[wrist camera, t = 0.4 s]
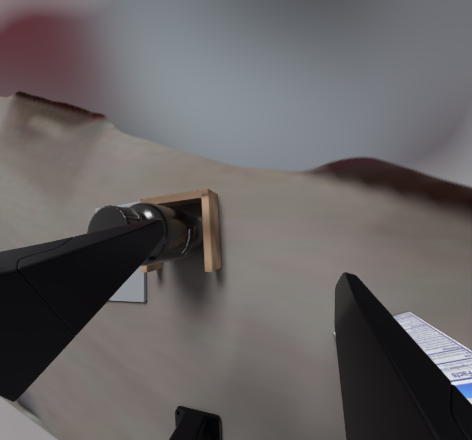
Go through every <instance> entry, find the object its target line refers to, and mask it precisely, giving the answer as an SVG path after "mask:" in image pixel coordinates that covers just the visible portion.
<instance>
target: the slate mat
mask: <svg viewBox="0 0 472 440" xmlns="http://www.w3.org/2000/svg"><path fill="white" fill-rule="evenodd" d="M137 203H140V202H135V203H128V204H122V205H115V206H119V207H130V206H132V205H134V204H137ZM103 208H104V207H103ZM100 209H101V208H96V209H95V213H97V211H98V210H100ZM109 300H112V301H131V302H145V301H147V288H146V272H141V266H140V267H139V268H138V269H137V270H136V271H135V272H134V273H133V274H132V275H131V276H130V277H129V279H128V280H127V281H126V282H125V283H124V284H123V285H122V286H121V287H120V288H119V289H118V290H117V292H116V293H115V294H114V295H113V296H112V297H111V298H110V299H109Z"/></svg>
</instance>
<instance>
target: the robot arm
mask: <svg viewBox="0 0 472 440" xmlns="http://www.w3.org/2000/svg"><path fill="white" fill-rule="evenodd" d="M164 235H165V228H164V223H163V221H162V220H161V219H157V218H153V219H149V220H144V221H140V222H136V223H131V224H127V225H123V226H118V227H114V228H110V229H105V230H101V231H97V232H92V233H88V234H84V235H79V236H75V237H70V238H66V239H62V240H57V241H53V242H48V243H43V244H38V245H33V246H28V247H23V248H18V249H12V250H7V251H2V252H0V396H2V397H4V398H6V399H8V400H10V401H12V402H14V401H16V400H17V399H18V398H19V397H20V396H21V395H22V394H23V393H24V392H25V391H26V390H27V388H28V387H29V386H30V385H31V384H32V383H33V382H34V381H35V380H36V379H37V378H38V376H39V375H40V374H41V373H42V372H43V371H44V370H45V369H46V368H47V367H48V366H49V365H50V363H51V362H52V361H53V360H54V359H55V358H56V357H57V356H58V355H59V354H60V353H61V352H62V350H63V349H64V348H65V347H66V346H67V345H68V344H69V343H70V342H71V341H72V340H73V338H74V337H75V335H77V334H78V333H79V332H80V331H81V330H82V328H83V327H84V326H85V325H86V324H87V323H88V322H89V321H90V320H91V319H92V318H93V317H94V315H95V314H96V313H97V312H98V311H99V310H100V309H101V308H102V307H103V306H104V305H105V304H106V302H107V301H108V300H109V299H110V298H111V297H112V296H113V295H114V294H115V293H116V292H117V290H118V289H119V288H120V287H121V286H122V285H123V284H124V283H125V282H126V281H127V280H128V279H129V277H130V276H131V275H132V274H133V273H134V272H135V271H136V270H137V269H138V268H139V267H140V266H141V264H142V263H143V262H144V261H145V260H146V259H147V258H148V257H149V255H150V254H151V253H152V251H153V250H154V249H155V248H156V246H157V245H158V244H159V242H160V241H161V240H162V238H163V237H164ZM335 336H336V346H337V355H338V364H339V374H340V383H341V393H342V402H343V411H344V421H345V430H346V439H347V440H472V404H471V403H470V402H469V401H468V400H467V398H466V397H465V396H464V395H463V394H462V393H461V392H460V391H459V390H458V388H457V387H456V386H455V385H453V384H451V381H450V380H449V378H448V377H447V376H446V375H445V374H444V373H443V372H442V371H441V370H440V368H439V367H438V366H437V365H436V364H435V363H434V362H433V361H432V359H431V358H430V357H429V356H428V355H427V354H426V353H425V352H424V351H423V349H422V348H421V347H420V346H419V345H418V344H417V343H416V342H415V340H414V339H413V338H412V337H411V336H410V335H409V334H408V333H407V332H406V330H405V329H404V328H403V327H402V326H401V325H400V324H399V323H398V321H397V320H396V319H395V318H394V317H393V316H392V315H391V314H390V313H389V311H388V310H387V309H386V308H385V307H384V306H383V305H382V304H381V302H380V301H379V300H378V299H377V298H376V297H375V296H374V295H373V294H372V292H371V291H370V290H369V289H368V288H367V287H366V286H365V285H364V284H363V282H362V281H361V280H360V279H359V278H358V277H357V276H356V275H354V274H350V273H347V272H345V273H343V274H342V276H341V277H340V279H339V281H338V283H337V285H336V288H335ZM175 419H176V429H175V430H174V432H173V434H172V436H171V437H170V439H169V440H221V423H220V418H219V416H217V415H214V414H210V413H206V412H202V411H198V410H194V409H190V408H186V407H182V406H178V407H177V409H176V411H175Z"/></svg>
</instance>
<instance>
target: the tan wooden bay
mask: <svg viewBox="0 0 472 440" xmlns="http://www.w3.org/2000/svg"><path fill="white" fill-rule="evenodd" d="M141 202H147V203H153V204H157V205H161V206H165V207H175V206H183V205H190V204H197V203H202V219H203V241H204V262H205V272H213V271H215V270H217V269H219V268H221V253H220V235H219V217H218V200H217V194H216V193H215V192H213V191H211V190H209V189H204V190H197V191H191V192H185V193H179V194H172V195H166V196H160V197H154V198H147V199H141V200H140V203H141ZM161 268H162V263H158V264H153V265H147V266H141V272H150V271H154V270H158V269H161Z"/></svg>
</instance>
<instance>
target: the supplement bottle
mask: <svg viewBox="0 0 472 440" xmlns="http://www.w3.org/2000/svg"><path fill="white" fill-rule="evenodd" d="M153 218H157V219H161V220H162V221H163V223H164V228H165V235H164V237H163V238H162V240H161V241H160V242H159V244H158V245H157V246H156V248H155V249H154V250H153V251H152V253H151V254H150V255H149V257H148V258H147V259H146V260H145V261H144V262H143V263H142V264H141V266H147V265H153V264H158V263H163V262H168V261H173V260H178V259H183V258H187V257H190V256H192V255H194V254H195V253H196V252H197V251H198V250H199V249H200V248H201V246H202V244H203V225H202V223H201V221H200V220H199V219H198V218H197V217H196V216H195V215H193V214H191V213H188V212H184V211H181V210H177V209H173V208H169V207H165V206H161V205H157V204H153V203H147V202H141V203H137V204H134V205H132V206H130V207H119V206H111V205H109V206H105V207H104V208H101V209H100V210H98V211H97V213H95V214H94V216H93V217H92V219H91V221H90V224H89V226H88V231H87V234H88V233H92V232H97V231H101V230H105V229H110V228H114V227H118V226H123V225H127V224H131V223H136V222H140V221H144V220H149V219H153Z"/></svg>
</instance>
